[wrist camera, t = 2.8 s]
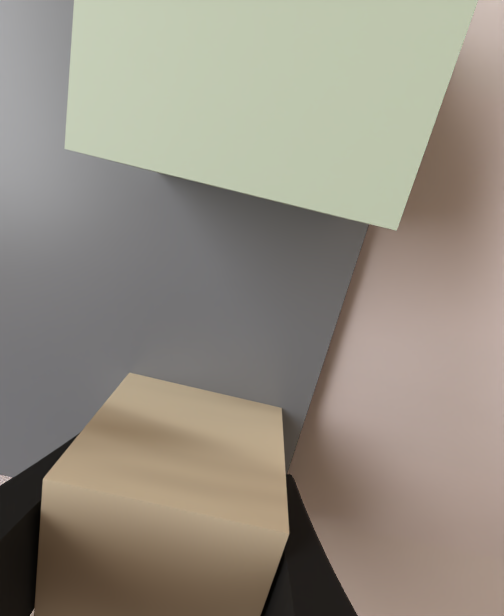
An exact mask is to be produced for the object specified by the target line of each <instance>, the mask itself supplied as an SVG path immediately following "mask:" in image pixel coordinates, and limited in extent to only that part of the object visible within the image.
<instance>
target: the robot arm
mask: <svg viewBox="0 0 504 616" xmlns="http://www.w3.org/2000/svg"><path fill="white" fill-rule="evenodd" d="M80 433H81V432H80ZM80 433H79V434H80ZM79 434H77V435H76V436H74V437H73V438H71V439H70V440H69V441H67V442H66V443H64V444H63V445H61V446H60V447H58V448H57V449H55V450H54V451H53V452H51V453H50V454H48V455H47V456H45V457H44V458H42V459H41V460H39V461H38V462H36V463H35V464H33V465H32V466H30V467H29V468H27V469H25V470H24V471H22V472H21V473H19V474H18V475H16V476H15V477H13V478H12V479H10V480H9V481H7V482H5V483H4V484H2V485H1V486H0V616H30V614H31V613H32V611H33V609H34V608H35V593H36V578H37V563H38V547H39V532H40V516H41V501H42V485H43V478H44V477H45V476H46V474H47V473H48V472H49V471H50V469H51V468H52V467H53V466H54V465H55V463H56V462H57V461H58V460H59V458H60V457H61V456H62V455H63V453H64V452H65V451H66V450H67V449H68V447H69V446H70V445H71V444H72V442H73V441H74V440H75V439H76V437H77V436H78V435H79ZM286 488H287V504H288V520H289V536H288V539H287V542H286V545H285V547H284V550H283V553H282V556H281V559H280V561H279V564H278V567H277V570H276V573H275V576H274V578H273V581H272V584H271V587H270V590H269V593H268V595H267V598H266V601H265V604H264V607H263V610H262V612H261V615H260V616H358V615H357V614H356V612H355V610H354V608H353V606H352V605H351V603H350V601H349V599H348V597H347V595H346V594H345V592H344V590H343V588H342V586H341V584H340V582H339V580H338V578H337V576H336V574H335V572H334V570H333V568H332V566H331V564H330V562H329V560H328V558H327V556H326V554H325V552H324V550H323V547H322V545H321V543H320V541H319V539H318V537H317V534H316V532H315V530H314V528H313V525H312V523H311V521H310V518H309V516H308V514H307V511H306V509H305V506H304V504H303V501H302V499H301V496H300V494H299V491H298V488H297V486H296V483H295V480H294V478H293V477H292V475H289V474H286Z"/></svg>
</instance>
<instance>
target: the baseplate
mask: <svg viewBox="0 0 504 616" xmlns="http://www.w3.org/2000/svg"><path fill="white" fill-rule="evenodd" d="M73 9H74V0H0V475H5V476H9V477H15V476H16V475H18V474H19V473H21V472H22V471H24V470H25V469H27V468H29V467H30V466H32V465H33V464H35V463H36V462H38V461H39V460H41V459H42V458H44V457H45V456H47V455H48V454H50V453H51V452H53V451H54V450H55V449H57V448H58V447H60V446H61V445H63V444H64V443H66V442H67V441H69V440H70V439H71V438H73V437H74V436H76V435H77V434H79V433H80V432H81V431H82V430H83V429H84V428H85V426H86V425H87V424H88V423H89V422H90V420H91V419H92V418H93V417H94V415H95V414H96V413H97V412H98V410H99V409H100V408H101V407H102V406H103V404H104V403H105V402H106V401H107V399H108V398H109V397H110V396H111V394H112V393H113V392H114V391H115V390H116V388H117V387H118V386H119V385H120V383H121V382H122V381H123V380H124V378H125V377H126V376H127V375H128V374H129V373H133V374H138V375H142V376H146V377H151V378H155V379H159V380H164V381H168V382H172V383H177V384H181V385H185V386H190V387H194V388H198V389H202V390H207V391H211V392H215V393H220V394H224V395H228V396H233V397H237V398H241V399H246V400H250V401H254V402H259V403H263V404H267V405H271V406H276V407H280V408H282V422H283V438H284V455H285V471H286V474H287V472H288V469H289V466H290V463H291V460H292V457H293V454H294V451H295V448H296V445H297V442H298V439H299V436H300V433H301V430H302V427H303V424H304V421H305V418H306V415H307V412H308V408H309V405H310V402H311V399H312V396H313V393H314V390H315V387H316V384H317V381H318V378H319V375H320V372H321V369H322V366H323V363H324V360H325V357H326V354H327V351H328V348H329V344H330V341H331V338H332V335H333V332H334V329H335V326H336V323H337V320H338V317H339V314H340V311H341V308H342V305H343V302H344V299H345V296H346V293H347V290H348V287H349V284H350V281H351V277H352V274H353V271H354V268H355V265H356V262H357V259H358V256H359V253H360V250H361V247H362V244H363V241H364V238H365V235H366V232H367V229H368V226H369V224H366V223H362V222H357V221H353V220H349V219H345V218H340V217H336V216H332V215H328V214H324V213H320V212H316V211H312V210H308V209H304V208H300V207H295V206H291V205H287V204H283V203H279V202H275V201H271V200H267V199H263V198H259V197H255V196H251V195H247V194H243V193H239V192H235V191H231V190H226V189H222V188H218V187H214V186H210V185H206V184H202V183H198V182H194V181H190V180H186V179H182V178H178V177H174V176H170V175H166V174H161V173H157V172H153V171H150V170H146V169H142V168H138V167H134V166H130V165H126V164H122V163H118V162H114V161H110V160H106V159H102V158H98V157H95V156H91V155H87V154H83V153H79V152H75V151H71V150H67V149H64V148H65V132H66V117H67V101H68V86H69V70H70V55H71V39H72V24H73Z"/></svg>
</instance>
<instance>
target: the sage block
mask: <svg viewBox="0 0 504 616" xmlns="http://www.w3.org/2000/svg"><path fill="white" fill-rule="evenodd" d="M477 2H478V0H74V9H73V24H72V39H71V55H70V70H69V86H68V101H67V117H66V132H65V148H64V149H67V150H71V151H75V152H79V153H83V154H87V155H91V156H95V157H98V158H102V159H106V160H110V161H114V162H118V163H122V164H126V165H130V166H134V167H138V168H142V169H146V170H150V171H153V172H157V173H161V174H166V175H170V176H174V177H178V178H182V179H186V180H190V181H194V182H198V183H202V184H206V185H210V186H214V187H218V188H222V189H226V190H231V191H235V192H239V193H243V194H247V195H251V196H255V197H259V198H263V199H267V200H271V201H275V202H279V203H283V204H287V205H291V206H295V207H300V208H304V209H308V210H312V211H316V212H320V213H324V214H328V215H332V216H336V217H340V218H345V219H349V220H353V221H357V222H362V223H366V224H370V225H374V226H379V227H383V228H387V229H392V230H396V231H397V228H398V225H399V223H400V220H401V217H402V214H403V211H404V209H405V206H406V203H407V200H408V197H409V194H410V192H411V189H412V186H413V183H414V180H415V177H416V175H417V172H418V169H419V166H420V163H421V160H422V158H423V155H424V152H425V149H426V146H427V143H428V141H429V138H430V135H431V132H432V129H433V127H434V124H435V121H436V118H437V115H438V112H439V110H440V107H441V104H442V101H443V98H444V95H445V93H446V90H447V87H448V84H449V81H450V78H451V76H452V73H453V70H454V67H455V64H456V62H457V59H458V56H459V53H460V50H461V47H462V45H463V42H464V39H465V36H466V33H467V30H468V28H469V25H470V22H471V19H472V16H473V13H474V11H475V8H476V5H477Z"/></svg>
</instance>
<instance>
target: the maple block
mask: <svg viewBox="0 0 504 616" xmlns="http://www.w3.org/2000/svg"><path fill="white" fill-rule="evenodd" d="M288 536H289V520H288V504H287V488H286V471H285V455H284V438H283V422H282V408H280V407H276V406H271V405H267V404H263V403H259V402H254V401H250V400H246V399H241V398H237V397H233V396H228V395H224V394H220V393H215V392H211V391H207V390H202V389H198V388H194V387H190V386H185V385H181V384H177V383H172V382H168V381H164V380H159V379H155V378H151V377H146V376H142V375H138V374H133V373H129V374H128V375H127V376H126V377H125V378H124V380H123V381H122V382H121V383H120V385H119V386H118V387H117V388H116V390H115V391H114V392H113V393H112V394H111V396H110V397H109V398H108V399H107V401H106V402H105V403H104V404H103V406H102V407H101V408H100V409H99V410H98V412H97V413H96V414H95V415H94V417H93V418H92V419H91V420H90V422H89V423H88V424H87V425H86V426H85V428H84V429H83V430H82V431H81V433H80V434H79V435H78V436H77V437H76V439H75V440H74V441H73V442H72V444H71V445H70V446H69V447H68V449H67V450H66V451H65V452H64V453H63V455H62V456H61V457H60V458H59V460H58V461H57V462H56V463H55V465H54V466H53V467H52V468H51V469H50V471H49V472H48V473H47V474H46V476H45V477H44V478H43V485H42V501H41V516H40V532H39V547H38V563H37V578H36V593H35V609H34V616H260V615H261V612H262V610H263V607H264V604H265V601H266V598H267V595H268V593H269V590H270V587H271V584H272V581H273V578H274V576H275V573H276V570H277V567H278V564H279V561H280V559H281V556H282V553H283V550H284V547H285V545H286V542H287V539H288Z"/></svg>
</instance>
